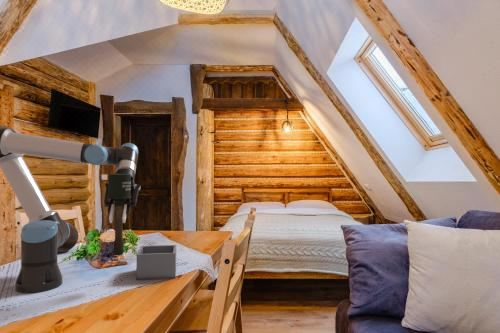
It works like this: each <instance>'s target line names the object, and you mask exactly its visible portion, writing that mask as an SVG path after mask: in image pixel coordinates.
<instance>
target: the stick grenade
mask: <svg viewBox="0 0 500 333" xmlns="http://www.w3.org/2000/svg"><path fill="white" fill-rule="evenodd" d="M131 190H132V189H131V175H130V174H116V173H110V174H109V173H108V196H107V198H108V199H109V200H111V199H114V201H115V204H114V207H115V210H114V217H115V219H114V223H115V224H114V227H115V228H114V242H113V250H112V253H113V255H114V256H122V255H124V251H125V250H124V240H123V237H124V236H123V233H124V232H123V230H124V229H123V227H124V226H123V224H124V223H123V220H122V217H123V211H124V205H125V201H126V199H130V200H131V199H132V194H131V193H132V192H131Z"/></svg>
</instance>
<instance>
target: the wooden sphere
mask: <svg viewBox="0 0 500 333" xmlns="http://www.w3.org/2000/svg"><path fill="white" fill-rule="evenodd" d="M66 223H67V224H68V225H69V228H70V234H69V237H68V239H67V241H66V242H65V243H64V244H63V245H62V246H60V247H58V248H57V253H66V252H68V251H70V250H72V249H73V248H74V247H75V246H76V245H77V242H78V241H79V232H78V229H77V228H76V226H74V225H73V224H71V223H69V222H66Z"/></svg>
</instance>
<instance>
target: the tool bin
mask: <svg viewBox="0 0 500 333" xmlns="http://www.w3.org/2000/svg"><path fill="white" fill-rule="evenodd" d="M176 273H177V244H164V245H161V244H160V245H141V246H140V248H139V249H138V251H137V252H136V275H135V276H136V277H135V278H136V281H144V280H165V279H176V276H177V275H176Z"/></svg>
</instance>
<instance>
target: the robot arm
mask: <svg viewBox="0 0 500 333" xmlns="http://www.w3.org/2000/svg"><path fill="white" fill-rule="evenodd" d="M24 156H33V157H40V158H46V159H54V160H62V161H69V162H75V163H76V162H77V163H82V164H88V165H89V164H90V165H94V166H101V165H102V166H103V165H104V166H106V165H107V166H116V169H115V174H130V175H131V190H132V189H134V191H133V195H132V200H131V198H130V199H125V201H126V204H125V203H124V211H123V217H122V220H123V224H126V220H127V215H130V213H131V208H136V206H137V203H138V202H137V201H138V197H139V192H140V191H141V189H142V188H141V184H140V183H137V184H136V183H135V178H136V170H137V164H138V158H139V148H138V146H137V145H135V144H134V143H133V142H132V143H131V142H126V143H123V144H122V145H121V146H120V147H111V146H104V145H100V144H95V143H94V144H92V143H86V142H79V141H73V140H66V139H60V138H53V137H48V136H47V137H46V136H40V135H32V134H26V133H20V132H17V131H16V130H15V129H13V128H10V127H8V126H5V125H0V170H1V171H2V173H3V175H4V177H5V179H6V181H7V182H8V184H9V186H10V188H11V190H12V191H13V193H14V195H15V197H16V199H17V200H18V202H19V204H20V206H21V207H22V210H23V211H24V213H25V215H26V216H27V218H28V222H27V223H26V224H24V225H23V226H22V227H21V233H20V270H19V271H18V274H17V278H16V281H15V284H14V290H15V291H16V292H19V293H22V294H23V293H25V294H26V293H27V294H28V293H39V292H40V293H41V292H44V291H45V292H46V291H49V290H53V289H56V288H58V287H60V286H61V285H62V284H63V275H62V273H61V269H60V267H59V265H58V252H57V248H58V247H60V246H62V245H63V244H64V243H65V242H66V241H67V239H68V237H69V234H70V228H69V225H68V224H67V223H68V222H67V221H66V220H64V219H62V218H61V216H60V214H59V212H58V211H57V210H55V209H52V208H51V206H50V205H49V203H48V201H47V199H46V198H45V196H44V194H43V192H42V190H41V188H40V186H39V184H38V183H37V181H36V179H35V177H34V176H33V174H32V172H31V169H30V167H29V166H28V164H27V162H26V161H25V159H24ZM108 184H109V182H108V183H104V185H105V192H104V194H105V195H104V200H103V203H104V207H106V208H107V214H108V215H109V217H108V221H109V223H110V224H113V221H114V217H115V201H114V199H108V198H107V196H108Z"/></svg>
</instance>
